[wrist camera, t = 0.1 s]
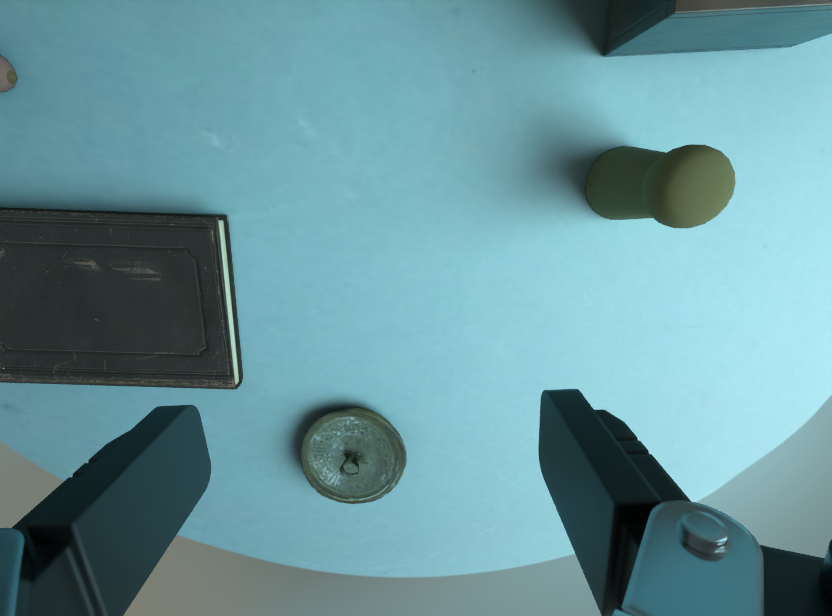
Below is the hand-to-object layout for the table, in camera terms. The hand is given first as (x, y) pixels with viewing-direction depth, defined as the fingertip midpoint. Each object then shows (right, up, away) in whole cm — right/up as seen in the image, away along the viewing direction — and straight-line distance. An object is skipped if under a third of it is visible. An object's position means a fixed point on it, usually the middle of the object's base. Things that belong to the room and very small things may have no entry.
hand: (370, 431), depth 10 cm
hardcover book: (-27, +4, +30) cm, 40 cm away
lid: (-5, -11, +34) cm, 37 cm away
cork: (+19, +14, +27) cm, 35 cm away
